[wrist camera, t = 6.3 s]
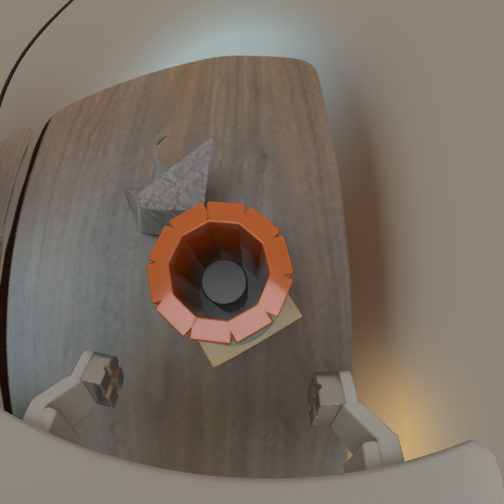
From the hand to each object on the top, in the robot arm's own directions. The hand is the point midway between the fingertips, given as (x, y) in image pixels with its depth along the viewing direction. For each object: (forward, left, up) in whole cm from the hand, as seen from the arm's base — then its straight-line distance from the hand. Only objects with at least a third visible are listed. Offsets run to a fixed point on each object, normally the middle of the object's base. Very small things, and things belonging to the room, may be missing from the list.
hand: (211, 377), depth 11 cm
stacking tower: (-4, +2, -12) cm, 13 cm away
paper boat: (-15, +2, -13) cm, 19 cm away
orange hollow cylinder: (-4, +2, -8) cm, 9 cm away
